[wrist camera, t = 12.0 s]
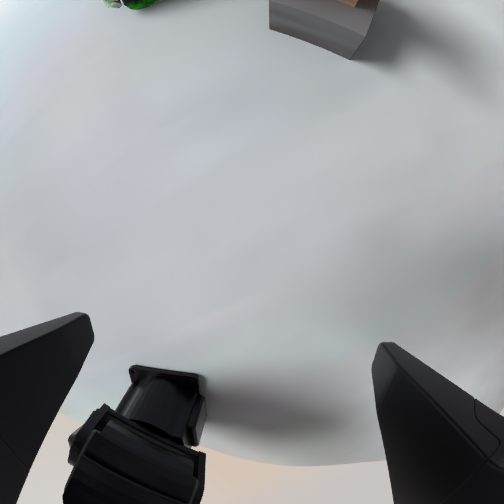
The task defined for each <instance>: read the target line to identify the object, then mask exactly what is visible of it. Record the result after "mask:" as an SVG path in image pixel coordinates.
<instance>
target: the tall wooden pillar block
mask: <svg viewBox="0 0 504 504" xmlns="http://www.w3.org/2000/svg"><path fill="white" fill-rule="evenodd" d="M378 2H379V0H269V27H270V29H271V30H274V31H277V32H280V33H283V34H286V35H289V36H292V37H295V38H298V39H301V40H303V41H306V42H309V43H311V44H314V45H316V46H319V47H321V48H324V49H326V50H328V51H331V52H333V53H335V54H338V55H340V56H342V57H344V58H346V59H349V60H350V58H351V57H352V55H353V54H354V52H355V51H356V50H357V48H358V47H359V45H360V44H361V43H362V41H363V40H364V38H365V37H366V34H367V32H368V29H369V26H370V24H371V21H372V18H373V15H374V13H375V10H376V7H377V5H378Z"/></svg>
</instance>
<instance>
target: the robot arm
mask: <svg viewBox="0 0 504 504" xmlns="http://www.w3.org/2000/svg"><path fill="white" fill-rule="evenodd" d="M93 342H94V332H93V329H92V325H91V321H90V317H89V316H88V315H87V314H85V313H81V312H75V313H72V314H69V315H66V316H63V317H60V318H57V319H54V320H51V321H48V322H45V323H42V324H38V325H35V326H32V327H29V328H26V329H23V330H20V331H17V332H14V333H11V334H8V335H5V336H1V337H0V504H16V503H17V500H18V498H19V495H20V493H21V490H22V488H23V485H24V483H25V480H26V478H27V476H28V473H29V470H30V468H31V466H32V464H33V462H34V459H35V457H36V455H37V453H38V451H39V449H40V447H41V445H42V442H43V440H44V438H45V436H46V434H47V432H48V430H49V428H50V426H51V424H52V422H53V420H54V418H55V417H56V415H57V413H58V411H59V409H60V407H61V405H62V403H63V402H64V400H65V398H66V396H67V394H68V393H69V391H70V389H71V387H72V385H73V384H74V382H75V380H76V378H77V376H78V374H79V372H80V370H81V368H82V366H83V363H84V361H85V359H86V357H87V355H88V353H89V350H90V348H91V346H92V344H93ZM133 370H134V371H133ZM135 371H136V372H135ZM129 374H130V378H131V382H132V384H131V386H130V387H129V389H128V390H127V392H126V394H125V395H124V397H123V398H122V400H121V402H120V403H119V405H118V407H117V408H116V410H115V411H114V410H113V409H111V408H110V407H109V406H108V405H106V404H105V403H104V404H103V405H102V407H101V408H100V409H97V410H96V411H93V412H92V414H91V415H90V417H89V418H88V420H87V421H86V422H85V423H84V424H83V425H82V426H81V427H80V428H78V429H77V430H76V431H75V432H73V433H72V434H71V435H70V436H69V439H68V442H69V445H70V451H69V457H68V463H69V464H71V465H73V466H74V467H73V470H72V472H71V474H70V477H69V479H68V481H67V483H66V485H65V489H64V494H63V504H200V502H201V499H202V496H203V492H204V484H205V461H206V454H205V453H203V452H200V451H199V452H198V451H195V450H193V449H191V447H192V446H195V447H196V446H198V445H199V442H200V438H201V435H202V431H203V427H204V423H205V419H206V416H207V413H206V405H205V397H204V396H203V395H201V391H200V382H199V377H198V376H197V375H195V374H189V373H181V372H173V371H166V370H159V369H153V368H146V367H140V366H135V365H132V366H131V367H130V368H129ZM372 378H373V385H374V394H375V402H376V411H377V417H378V421H379V426H380V430H381V435H382V440H383V445H384V449H385V454H386V460H387V465H388V470H389V476H390V482H391V488H392V494H393V501H394V504H504V417H503V416H501V415H500V414H498V413H496V412H495V411H493V410H492V409H490V408H489V407H487V406H486V405H484V404H483V403H481V402H480V401H479V400H477V399H474V397H473V396H471V395H470V394H468V393H467V392H465V391H464V390H462V389H461V388H460V387H458V386H457V385H455V384H454V383H452V382H451V381H449V380H448V379H446V378H445V377H443V376H442V375H441V374H439V373H438V372H436V371H435V370H433V369H432V368H430V367H429V366H427V365H426V364H424V363H423V362H422V361H420V360H419V359H417V358H416V357H414V356H413V355H411V354H410V353H408V352H407V351H405V350H404V349H402V348H401V347H400V346H398V345H397V344H395V343H393V342H382V343H380V344H379V346H378V348H377V351H376V355H375V358H374V361H373V364H372ZM191 379H194V380H195V381H193V380H191Z"/></svg>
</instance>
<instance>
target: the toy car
mask: <svg viewBox="0 0 504 504" xmlns="http://www.w3.org/2000/svg"><path fill="white" fill-rule="evenodd" d="M103 1H104V3H105V5H106V6H107V7H114V8H119V7H121V6H122V4H121V2H120V0H103ZM122 1H123V3H124V5H125V6H127V7H129V8H130V9H140V8H144V7H147V6H149V5H151V4H154V3H155V2H157V1H158V0H122Z"/></svg>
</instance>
